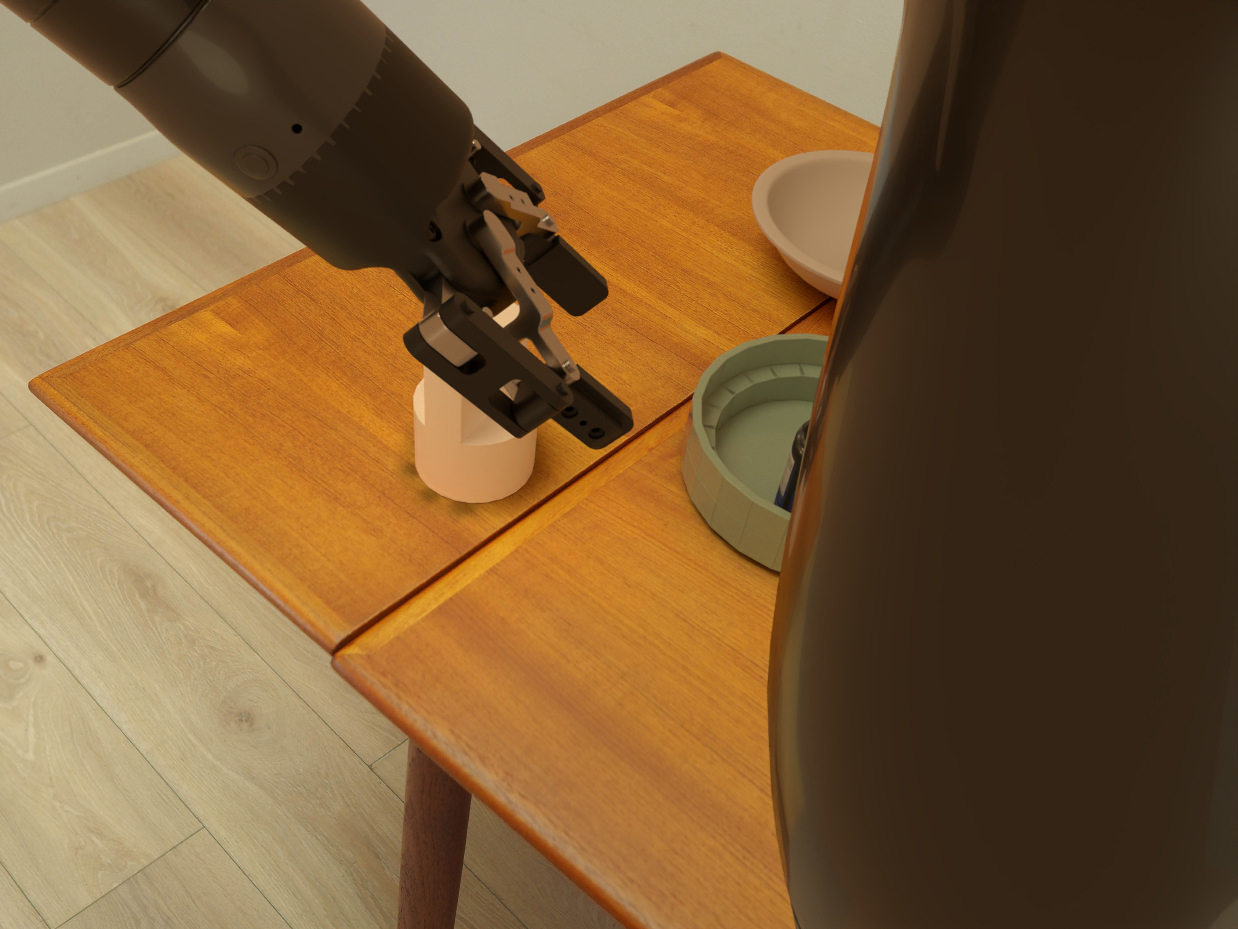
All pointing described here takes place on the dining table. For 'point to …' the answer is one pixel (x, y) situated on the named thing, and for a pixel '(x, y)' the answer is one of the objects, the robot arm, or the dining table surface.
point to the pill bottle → (792, 471)
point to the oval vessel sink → (813, 211)
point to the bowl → (750, 438)
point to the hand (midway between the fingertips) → (604, 363)
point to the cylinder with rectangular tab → (467, 442)
